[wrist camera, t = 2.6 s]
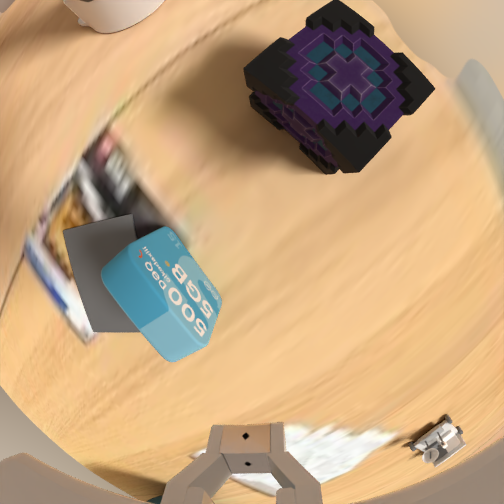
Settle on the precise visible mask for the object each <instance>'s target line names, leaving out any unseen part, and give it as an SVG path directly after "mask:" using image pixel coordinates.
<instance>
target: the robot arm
mask: <svg viewBox="0 0 504 504" xmlns="http://www.w3.org/2000/svg"><path fill="white" fill-rule="evenodd" d="M164 1H165V0H63V2H64V4H65V5H66V6H67V7H68V8H69V9H70V10H72V11H73V12H74V13H75V14H76V15H77V16H78V17H79V19H78V23H79V24H80V25H81V26H90V27H92V28H93V29H94V30H95V31H97V32H100V33H113V32H117V31H120V30H123V29H126V28H128V27H130V26H133V25H134V24H136V23H138V22H140V21H141V20H143V19H144V18H146V17H147V16H149V15H150V14H151V13H153V12H154V11H155V10H156V9H157V8H158V7H159V6H160V5H161V4H162V3H163V2H164ZM238 473H271V474H272V475H273V476H274V478H275V479H276V480H277V481H278V483H279V484H280V485H281V486H282V488H280V489H279V490H277V492H276V504H323V503H322V494H321V486H320V483H319V482H318V481H317V480H316V479H315V478H314V477H313V476H312V475H311V474H310V473H309V472H308V471H307V470H306V469H305V468H304V467H303V466H302V465H301V464H300V463H299V462H298V461H297V460H296V459H295V458H294V457H293V456H292V455H291V454H290V453H289V452H288V451H287V452H286V441H285V432H284V423H283V422H277V423H262V424H248V425H213V426H212V427H211V431H210V436H209V440H208V445H207V449H206V453H202V454H201V455H200V456H199V457H197V458H196V459H195V460H194V461H193V462H192V463H190V464H189V465H188V466H187V467H186V468H184V469H183V470H182V471H181V472H179V473H178V474H177V475H176V476H174V477H173V478H172V479H171V480H169V481H168V482H167V484H166V487H165V491H164V494H163V497H162V500H161V503H160V504H215V503H214V502H213V501H212V500H211V498H212V497H213V495H214V494H215V493H216V492H217V491H218V490H219V489H220V488H221V487H222V485H223V484H224V483H225V482H226V481H227V480H228V478H229V477H230V476H231V475H232V474H238ZM0 504H154V503H149V502H145V501H141V500H137V499H133V498H130V497H127V496H123V495H120V494H117V493H114V492H110V491H108V490H104V489H102V488H99V487H96V486H94V485H91V484H88V483H86V482H84V481H81V480H79V479H76V478H74V477H72V476H70V475H67V474H65V473H63V472H61V471H59V470H57V469H55V468H53V467H51V466H49V465H47V464H45V463H43V462H41V461H40V460H38V459H36V458H34V457H33V456H31V455H29V454H27V453H20V454H17V455H14V456H11V457H9V458H6V459H4V460H3V461H1V462H0ZM350 504H504V436H503V437H501V438H500V439H498V440H497V441H495V442H494V443H492V444H491V445H489V446H488V447H486V448H485V449H483V450H482V451H480V452H478V453H477V454H475V455H473V456H472V457H470V458H468V459H466V460H464V461H463V462H461V463H459V464H457V465H455V466H453V467H451V468H449V469H447V470H445V471H443V472H441V473H439V474H437V475H434V476H432V477H430V478H428V479H425V480H423V481H421V482H418V483H416V484H413V485H410V486H408V487H405V488H402V489H399V490H397V491H394V492H391V493H387V494H384V495H381V496H378V497H374V498H371V499H367V500H363V501H359V502H355V503H350Z"/></svg>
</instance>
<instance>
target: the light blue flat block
mask: <svg viewBox="0 0 504 504" xmlns="http://www.w3.org/2000/svg"><path fill="white" fill-rule="evenodd" d="M101 278H102V281H103V284H104V285H105V287H106V288H107V290H108V291H109V292H110V294H111V295H112V296H113V298H114V299H115V300H116V302H117V303H118V304H119V306H120V307H121V308H122V310H123V311H124V312H125V313H126V315H127V316H128V317H129V318H130V320H131V321H132V322H133V323H134V325H135V326H136V327H137V328H138V330H139V331H140V332H141V333H142V334H143V335H144V337H145V338H146V339H147V340H148V341H149V342H150V344H151V345H152V346H153V347H154V348H155V349H156V350H157V351H158V353H159V354H160V355H161V356H162V357H163V358H164V359H165V360H167V361H169V362H176V361H178V360H180V359H182V358H184V357H186V356H188V355H190V354H192V353H194V352H196V351H198V350H200V349H202V348H204V347H206V346H207V345H208V343H209V340H210V337H211V334H212V331H213V328H214V325H215V322H216V319H217V317H218V314H219V311H220V308H221V305H222V300H221V297H220V295H219V293H218V291H217V290H216V288H215V287H214V286H213V284H212V283H211V282H210V280H209V279H208V278H207V276H206V275H205V274H204V272H203V271H202V270H201V268H200V267H199V266H198V264H197V263H196V262H195V260H194V259H193V258H192V256H191V255H190V253H189V252H188V251H187V249H186V248H185V246H184V245H183V244H182V242H181V241H180V239H179V238H178V237H177V235H176V234H175V233H174V232H173V230H171V229H170V228H169V227H166V226H164V227H162V228H160V229H158V230H156V231H154V232H152V233H150V234H148V235H146V236H144V237H142V238H140V239H138V240H136V241H134V242H132V243H130V244H129V245H128V246H126V247H125V248H124V249H123V250H122V251H121V252H120V253H118V254H117V255H116V256H115V257H114V258H113V259H112V260H111V261H109V262H108V263H107V264H106V265H105V266H104V267H103V268H102V271H101Z"/></svg>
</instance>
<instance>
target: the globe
mask: <svg viewBox="0 0 504 504" xmlns="http://www.w3.org/2000/svg"><path fill="white" fill-rule="evenodd" d="M162 497H163V495H162V496H157V497H155V498H152V499H150V500H148V501H146V502H149V503H154V504H160V503H161V500H162Z"/></svg>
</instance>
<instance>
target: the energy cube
mask: <svg viewBox="0 0 504 504" xmlns="http://www.w3.org/2000/svg"><path fill="white" fill-rule="evenodd" d="M243 70H244V75H245V79H246V84H247V86H248V87H249V88H250V89H251V90H253V91H254V92H253V93H252V94H251V95H250V96H249V99H250V104H251V107H252V108H253V109H255V110H256V111H257V112H258V113H259V114H261V115H262V116H263V117H264V118H265V119H267V120H268V121H269V122H270V123H271V124H272V125H274V126H275V127H276V128H277V129H278V130H280V129H285V130H286V131H287V132H288V133H289V134H290V135H292V136H293V137H294V138H295V139H296V140H297V141H298V142H299V143H300V150H301V151H302V152H303V153H304V154H305V155H306V156H308V157H309V158H310V159H311V160H312V161H313V162H314V163H315V164H316V165H317V166H318V167H319V168H320V169H321V170H322V171H323V172H324V173H325V174H326V175H327V174H335V173H336V172H337V171H338V170H339V169H340V170H341V171H342V172H343V173H357V172H360V171H361V170H362V169H363V168H364V167H365V166H366V164H367V163H368V162H369V161H370V160H371V159H372V158H373V157H374V156H375V155H376V154H377V153H378V152H379V151H380V149H381V148H382V147H383V146H384V145H385V144H386V143H387V142H388V141H389V140H390V139H391V138H392V137H391V134H390V132H389V129H390V128H391V127H392V126H393V125H394V124H395V123H396V122H397V121H398V120H399V118H400V117H401V116H402V115H411V114H413V113H414V112H415V111H416V110H417V109H418V108H419V107H420V106H421V104H422V103H423V102H424V101H425V100H426V99H427V98H428V97H429V95H430V94H431V93H432V92H433V91H434V90H435V88H434V86H433V85H432V84H431V83H430V82H429V80H428V79H427V78H426V77H425V76H424V75H423V74H422V72H421V71H420V70H419V69H418V68H417V67H416V66H415V65H414V64H413V63H412V62H411V61H410V60H409V59H408V58H407V57H406V56H405V55H404V54H403V53H394V52H392V51H391V50H390V49H389V48H388V47H387V46H386V45H385V44H384V43H383V42H382V41H381V40H379V39H378V38H377V37H376V36H375V35H374V26H373V25H371V24H370V23H369V22H368V21H366V20H365V19H364V18H363V17H361V16H360V15H359V14H357V13H356V12H355V11H353V10H352V9H351V8H349V7H348V6H347V5H345V4H344V3H342V2H341V1H339V0H333V1H331V2H330V3H328V4H326V5H325V6H323V7H322V8H320V9H319V10H317V11H316V12H314V13H313V14H311V15H310V16H308V17H307V18H306V27H305V28H303V29H302V30H301V31H299V32H298V33H297V34H295V35H294V36H293V37H291V38H290V39H289V40H287V39H284V38H281V37H280V38H279V39H277V40H276V41H275V42H274V43H272V44H271V45H270V46H269V47H268V48H266V49H265V50H264V51H263V52H262V53H260V54H259V55H258V56H257V57H256V58H255V59H253V60H252V61H251V62H250V63H249V64H248V65H247V66H246V67H244V68H243Z"/></svg>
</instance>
